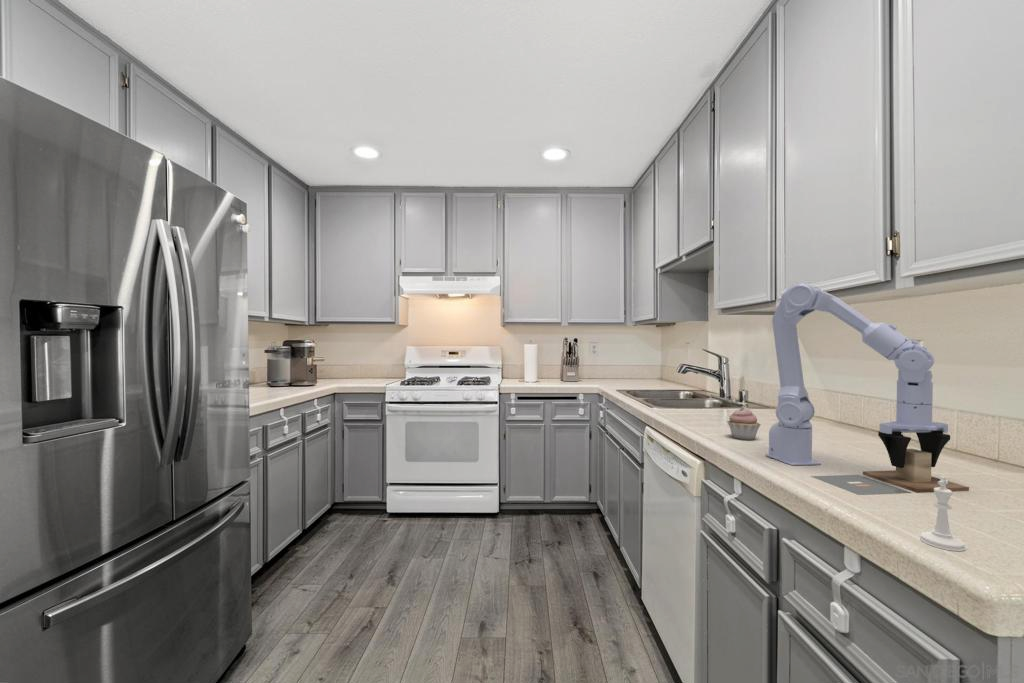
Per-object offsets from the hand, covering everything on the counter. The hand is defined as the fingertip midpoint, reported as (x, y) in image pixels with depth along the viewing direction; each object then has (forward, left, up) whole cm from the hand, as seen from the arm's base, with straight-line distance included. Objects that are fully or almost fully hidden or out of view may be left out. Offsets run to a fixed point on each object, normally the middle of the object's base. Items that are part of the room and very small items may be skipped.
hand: (913, 466), depth 96 cm
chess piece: (+26, -25, -4) cm, 36 cm away
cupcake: (-44, -9, -4) cm, 45 cm away
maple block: (0, 0, -3) cm, 3 cm away
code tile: (0, -13, -3) cm, 13 cm away
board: (0, 0, -3) cm, 3 cm away
